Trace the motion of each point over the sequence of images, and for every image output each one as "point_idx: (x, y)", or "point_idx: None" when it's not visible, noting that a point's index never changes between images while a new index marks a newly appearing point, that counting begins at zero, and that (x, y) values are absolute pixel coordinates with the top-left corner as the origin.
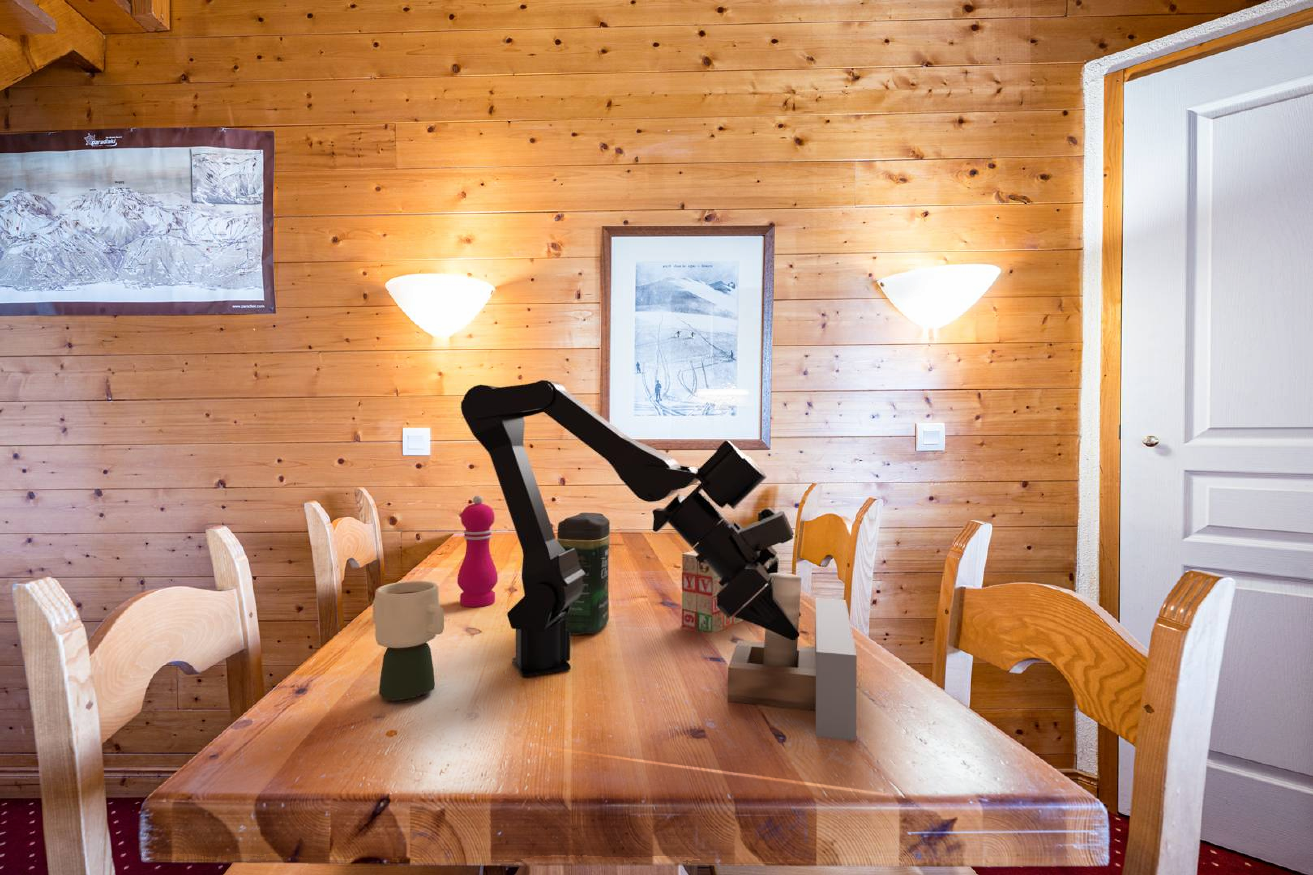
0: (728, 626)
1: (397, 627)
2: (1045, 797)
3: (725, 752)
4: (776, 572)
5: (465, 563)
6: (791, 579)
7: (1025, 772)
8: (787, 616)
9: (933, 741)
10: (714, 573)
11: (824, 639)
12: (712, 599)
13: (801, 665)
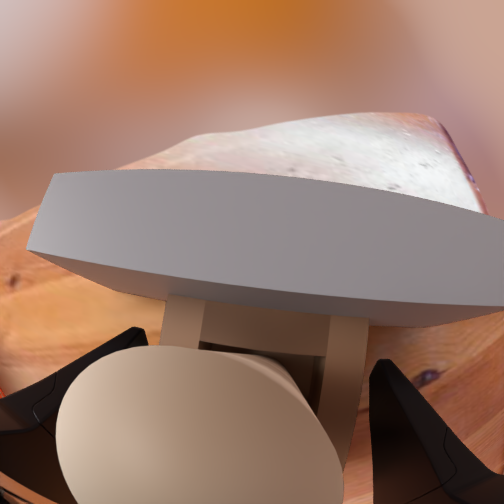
0: (3, 394)
1: None
2: (446, 134)
3: (458, 433)
4: (10, 438)
5: None
6: (336, 460)
7: (416, 126)
8: (415, 410)
9: (390, 176)
10: None
11: (454, 280)
12: None
13: (310, 347)
